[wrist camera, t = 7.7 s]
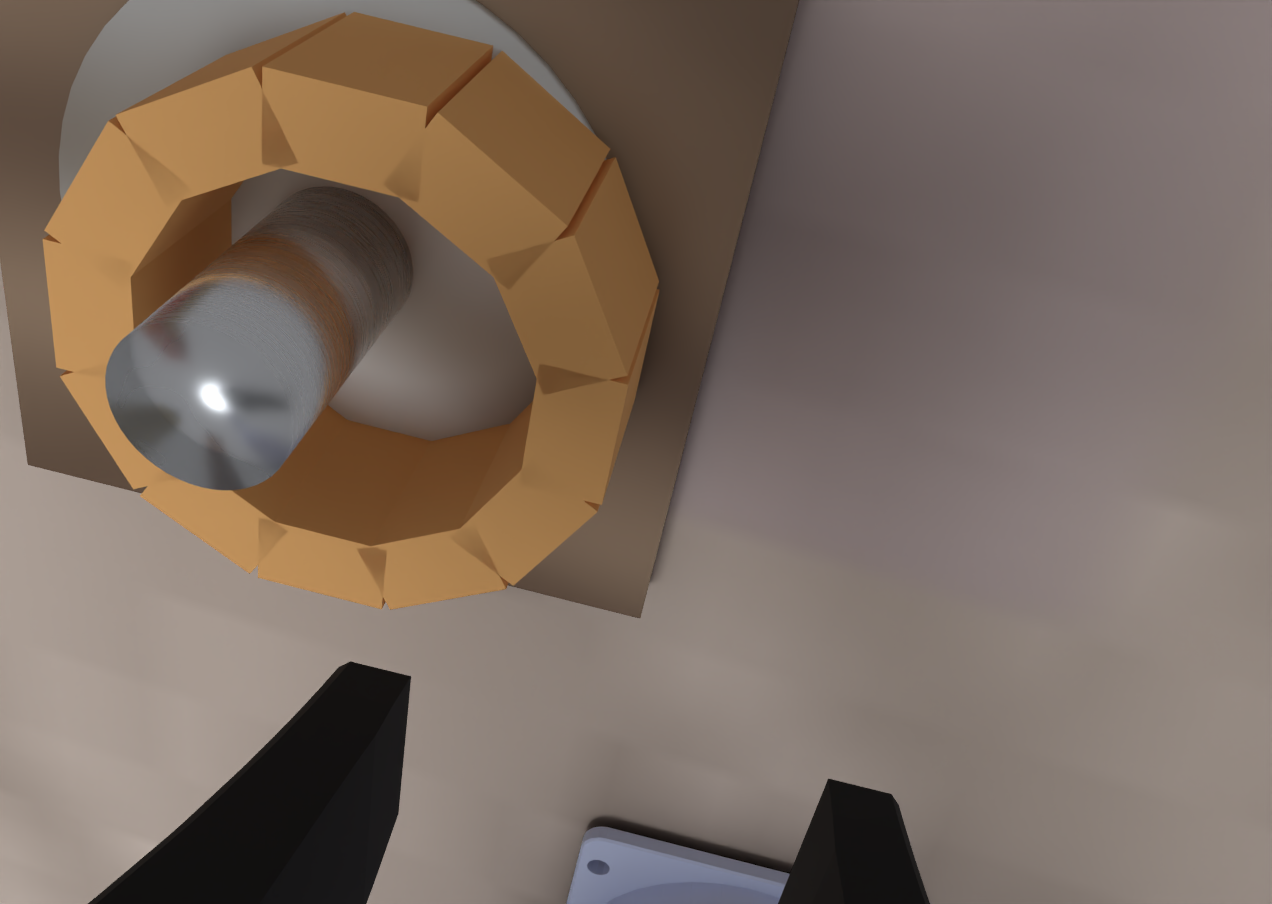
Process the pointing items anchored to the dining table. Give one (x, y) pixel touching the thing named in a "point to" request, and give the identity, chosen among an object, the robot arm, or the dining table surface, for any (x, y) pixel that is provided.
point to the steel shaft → (260, 340)
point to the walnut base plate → (442, 273)
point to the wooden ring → (453, 204)
